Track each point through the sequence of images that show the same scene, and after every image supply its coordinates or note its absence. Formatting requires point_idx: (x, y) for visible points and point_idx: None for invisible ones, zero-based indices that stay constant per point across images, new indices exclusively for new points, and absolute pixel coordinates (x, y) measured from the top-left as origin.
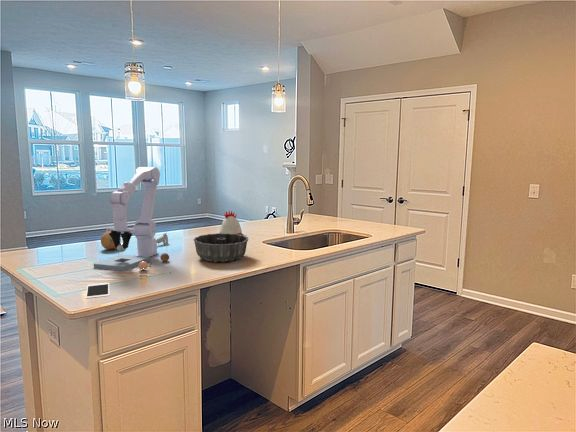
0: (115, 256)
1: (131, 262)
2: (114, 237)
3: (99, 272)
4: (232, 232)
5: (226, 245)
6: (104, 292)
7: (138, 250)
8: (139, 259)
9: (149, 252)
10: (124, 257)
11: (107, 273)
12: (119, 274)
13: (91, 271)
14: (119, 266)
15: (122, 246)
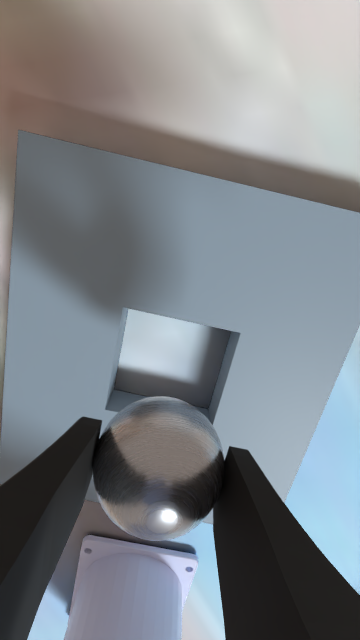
0: (290, 477)
1: (41, 307)
2: (297, 633)
3: (255, 66)
4: None
5: None
6: None
7: (158, 604)
8: (33, 411)
9: (80, 592)
10: None
11: (156, 37)
12: (16, 15)
13: (351, 94)
14: (73, 143)
15: (115, 441)
